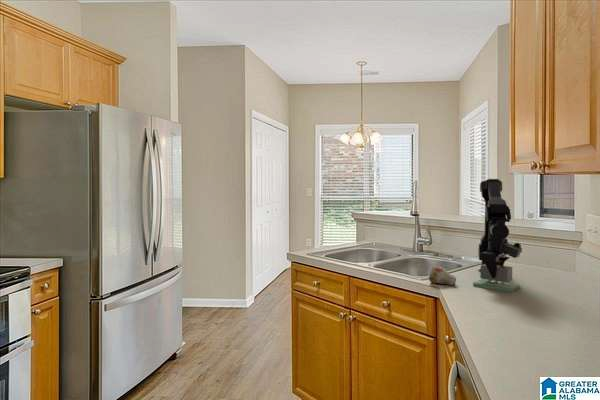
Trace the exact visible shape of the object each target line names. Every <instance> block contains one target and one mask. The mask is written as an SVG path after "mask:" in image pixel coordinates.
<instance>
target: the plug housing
mask: <svg viewBox="0 0 600 400" xmlns="http://www.w3.org/2000/svg"><path fill="white" fill-rule="evenodd" d="M480 269H481V271H480V280H481V279H488V280H494V281H501V282H508V283H510V282H512V281H513V266H508V265H504V266H501V265H497V271H496V276H495V278H492V277H491V275H490V272H489V270H488V268H487V266H486V264H483V265H482V264H481V265H480Z"/></svg>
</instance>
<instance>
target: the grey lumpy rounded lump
mask: <svg viewBox="0 0 600 400" xmlns="http://www.w3.org/2000/svg"><path fill="white" fill-rule="evenodd" d="M428 280H429V282H431V283H433V284H435V283H439V285H443V284H444V285H448V286H451V285H452V286H454V285H455V284H456V282H457V277H456V276H455V275H453V274H450V273H449V272H448V271H447V270H446V269H444V268H443V267H441V266H440V265H434V266H432V269H431V271H430V273H429V276H428Z"/></svg>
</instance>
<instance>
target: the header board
mask: <svg viewBox="0 0 600 400" xmlns="http://www.w3.org/2000/svg"><path fill="white" fill-rule="evenodd" d="M472 286H473V287H478V288H484V289H491V290H495V291H496V290H497V291H503V292H509V293H512V292H514V291H516V290H518V289H519V288H520V287H521V284H519V283H514V282H501V281H494V280H488V279H481V278H480V279H479V280H476V281H474V282H473V283H472Z"/></svg>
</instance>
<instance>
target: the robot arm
mask: <svg viewBox="0 0 600 400" xmlns="http://www.w3.org/2000/svg"><path fill="white" fill-rule="evenodd" d="M502 191H503V181H502V180H500V179H498V178H488V179H485V180H483V181H480V184H479V192H481V194H480V195H481V197H482V198H483V200H484V234H483V235H482V236H481V238H480V243H478V249H477V255H478V260H479V261H481V265H483V264H486V266H487V268H488V270H489V272H490V275H491V277H492V278H495V276H496V271H497V265H501V266H505V262H506V261H508V260H510V258H514V259H517V258H519V257H520V254H521V253H523V248H522V244H521V243H519V242H515V243H514V244H513V243H509V242H508V241H509V240H508V238H507V237H509V234H510V229H509V227H508V226H507V225H506V222H507V223H510V221H511V220H512V214H511V208H510V206H509V205H507V201H506V200H505V199H503V198H502V193H501V192H502ZM507 255H508V256H507ZM478 272H481V268H480V269H478Z"/></svg>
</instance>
